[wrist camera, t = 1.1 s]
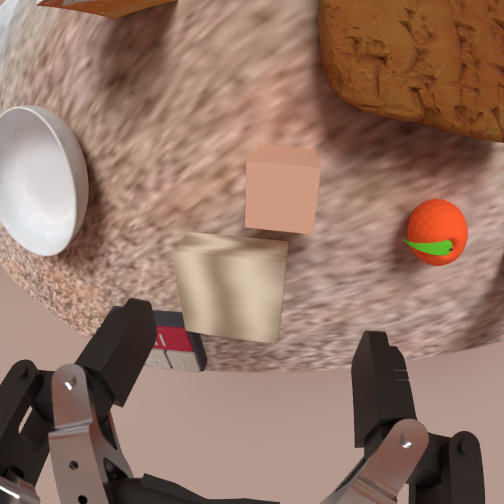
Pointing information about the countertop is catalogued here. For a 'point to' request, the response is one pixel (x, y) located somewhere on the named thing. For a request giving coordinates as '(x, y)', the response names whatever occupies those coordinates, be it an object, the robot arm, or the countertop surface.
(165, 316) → the grey and red box
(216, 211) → the countertop surface
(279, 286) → the birch block
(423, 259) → the clementine
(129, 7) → the small box
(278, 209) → the terracotta block
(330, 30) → the clay tablet
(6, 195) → the serving bowl
